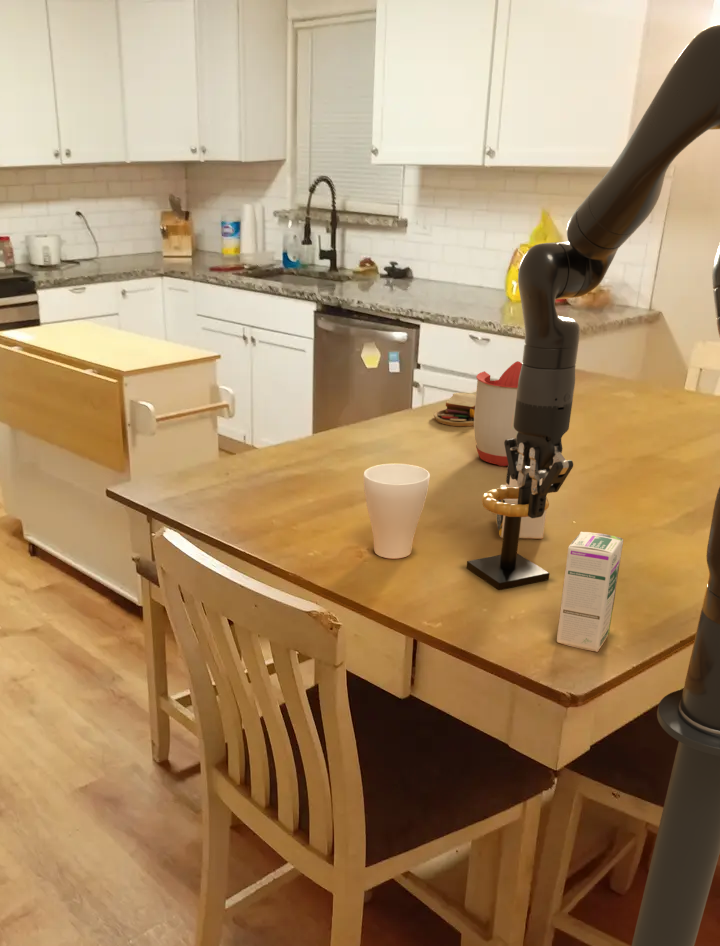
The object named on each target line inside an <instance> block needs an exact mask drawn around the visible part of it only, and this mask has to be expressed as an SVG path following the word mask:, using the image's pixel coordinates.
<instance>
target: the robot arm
mask: <svg viewBox="0 0 720 946" xmlns="http://www.w3.org/2000/svg"><path fill="white" fill-rule="evenodd" d="M709 130H711V131H712V130H720V23H717V24H713V25H710V26H708V27H707V28H705V29H702V30H701V31H700V32H699V33H697V34H696V35H695V36H694V37H693V38H692V39H691V40H690V41H689V43H688V44H687V45H686V46H685V48H684V49H683V50H682V52H681V53H680V54H679V56H678V57H677V59H676V60H675V62H674V64H673V65H672V67H671V68H670V70H669V72H668V73H667V74H666V76H665V78H664V79H663V82H662V83H661V85H660V87H659V88H658V90H657V92H656V94H655V95H654V97H653V99H652V100H651V103H650V104H649V106H648V107H647V109H646V111H644V114H643V115H642V117H641V118H640V120H639V122H638V124H637V126H636V127H635V129H634V131H633V133H632V135H631V136H630V137H629V139H628V141H627V142H626V144H625V146H624V147H623V149H622V150H621V152H620V154H619V155H618V157H617V158H616V160H615V161H614V163H612V166H611V167H610V168H609V170H608V171H606V173H605V175H604V176H603V177H602V179H601V180H600V181H599V182H598V183H597V184H596V185H595V187H594V188H593V189H592V191H591V192H590V193H588V195H587V196H586V197H585V199H584V200H583V201H582V203H580V204H579V206H578V207H577V209H575V211H574V213H573V214H572V215H571V217H570V218H569V221H568V222H567V226H566V238H567V240H566V241H557V242H543V243H537V244H535V245H533V246H531V247H530V248H529V249H528V250H527V251H526V253H524V256H523V257H522V259H521V262H520V264H519V268H518V273H517V283H518V292H519V298H520V303H521V310H522V317H523V324H524V325H523V326H524V332H525V333H524V334H525V335H524V342H523V343H524V344H523V350H522V351H523V352H522V361H521V363H522V367H521V371H520V375H519V380H518V388H517V398H516V407H515V416H514V429H515V430H516V431H518V433H517V437H516V438H514V439H507V440H505V442H504V445H505V450H506V455H507V460H508V466H509V471H510V476H511V478H512V479H516V480H517V485H518V487H519V495H518V496H519V497H518V505H525V504H529V508H528V516H529V517H530V518H538V517H541V516H542V515H543V513H544V511H545V503H546V497H548V496H547V495H548V494H552V493H558V492H559V490H560V489H561V487H562V486H563V484H564V482H565V481H566V479H567V477H568V476H569V474H570V473H571V471H572V469H573V468H574V462H573V460H572V459H568V460H566V458H565V456H564V455H563V454H562V453H563V443H562V438H563V436H564V435H565V434H566V433H567V432H568V431H569V429H570V424H571V415H572V409H573V403H574V393H575V387H576V366H577V365H576V364H577V357H578V351H579V344H580V343H579V342H580V336H581V335H580V334H581V327H580V323H579V322H578V321H577V320H575V319H574V318H570V317H567V316H561V315H558V312H557V309H556V300H565V299H566V300H567V299H575V298H576V299H577V298H580V297H584V296H586V295H588V294H590V293H591V292H592V291H594V290H595V289H596V288H597V287H598V286H599V285H600V284H601V283H602V281H603V280H604V278H605V276H606V275H607V272H608V270H609V268H610V266H611V264H612V263H613V260H614V258H615V257H616V254H617V251H618V250H619V249H620V248H621V247H622V245H623V244H624V243H625V242H626V241H627V240H628V239H629V238H630V237H631V236H632V235H634V233H635V232H636V231H637V230H638V229H639V228H640V226H641V225H642V224H643V223H644V222H645V221H646V220H647V219H648V218H649V216H650V215H651V213H652V212H653V210H654V209H655V207H656V205H657V203H658V201H659V199H660V195H661V193H662V188H663V184H664V181H665V177H666V174H667V171H668V169H669V167H670V165H671V164H672V162H673V161H674V160H675V159H676V158H677V157H678V156H679V154H680V153H681V152H683V151H684V150H685V149H686V148H687V147H688V146H689V145H690V144H692V143H693V142H694V141H695V140H696V139H698V138H699V137H700V136H702V135H704V134H705V133H706V132H707V131H709ZM712 288H713V292H712V293H713V300H714V310H715V319H716V327H717V332H718V336H719V338H720V243H719V244H718V247H717V250H716V253H715V257H714V262H713V265H712ZM516 462H518V463H517V467H516ZM540 470H544V471H540ZM529 472H530V473H529ZM542 478H543V483H542V484H541V485H540V479H542ZM711 516H712V517H711V523H710V529H709V535H708V541H707V547H706V556H705V557H706V564H707V565H706V566H707V569H708V574H709V575H708V580H707V584H706V589H705V593H704V597H703V603H702V606H701V610H700V614H699V619H698V623H697V628H696V632H695V637H694V639H693V640H694V642H693V645H692V650H691V654H690V658H689V663H688V668H687V672H686V676H685V681H684V685H683V689H684V690H683V694H682V699H681V700H680V703H679V708H678V713H679V716H680V718H681V719H682V720H683V721H684V722H685V723H686V724H687V725H689V726H690V727H692V728H693V729H695V730H697V731H699V732H702V733H704V734H707V735H710V736H714V737H718V738H720V486H719V487H718V490H717V493H716V497H715V501H714V505H713V510H712V515H711Z"/></svg>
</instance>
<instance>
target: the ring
mask: <svg viewBox="0 0 720 946" xmlns="http://www.w3.org/2000/svg"><path fill="white" fill-rule="evenodd" d="M518 495H519V487H503V488H500V487H498V488H492V489H490V490H488V491H487V492H485V493H484V494H483V495H482V496H481V502H482V506H483V508H484V509H486V510H487V511H489V512H491V513H493V514H496V515H497V514H499V515H504V516H508V517H528V508H529V504H525V505H518V504H507V503H502V502H498V500H502V499H518V497H519V496H518ZM549 507H550V502H549V499H548V496H546V503H545V510H546V509H548V508H549Z"/></svg>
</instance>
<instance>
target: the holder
mask: <svg viewBox="0 0 720 946" xmlns="http://www.w3.org/2000/svg"><path fill="white" fill-rule="evenodd" d="M520 526H521V517H508V516H505V522H504V531H503V538H502V541H501V550H500V554H497V555H492V556H485V557H481V558H476V559H471V560H467V561H466V567H465V568H466V569H467V570H469V571H470V572H472V573H473V574H475V575H476V576H477V577H479V578H480V579H481V580H483V581H484V582H486V583H488V584H489V585H491V586H492V587H493V588H495V589H496V590H498V591H501V590H506V589H511V588H515V587H521V586H526V585H530V584H536V583H540V582H545V581H549V580H550V579H549V578H550V572H549V571H547V570H546V569H544V568H543V567H541V566H539V565H537V564H536V563H534V562H533V561H531V560H529V559H528V558H526V557H525V556H522V555H521V554H520V553H518V549H519V541H520V538H519V534H520Z"/></svg>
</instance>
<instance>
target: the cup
mask: <svg viewBox="0 0 720 946" xmlns="http://www.w3.org/2000/svg"><path fill="white" fill-rule="evenodd" d="M430 478H431V473H430V472H429V471H428V470H427V469H426V468H424V467H421V466H418V465H415V464H408V463H394V462H393V463H383V464H376V465H373V466H370V467H368V468H366V469H365V470H364V472H363V491H364V497H365V503H366V509H367V513H368V516H369V520H370V526H371V531H372V536H373V550H374V551H373V552H374V553H375V554H376V555H377V556H379V557H381V558H384V559H389V560H391V559H393V560H399V559H404V558H407V557H408V556H410V555H411V554H412V549H413V542H414V537H415V534H416V531H417V527H418V524H419V521H420V519H421V515H422V513H423V511H424V507H425V504H426V503H425V502H426V500H427V499H426V498H427V495H428V491H429V485H430Z"/></svg>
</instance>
